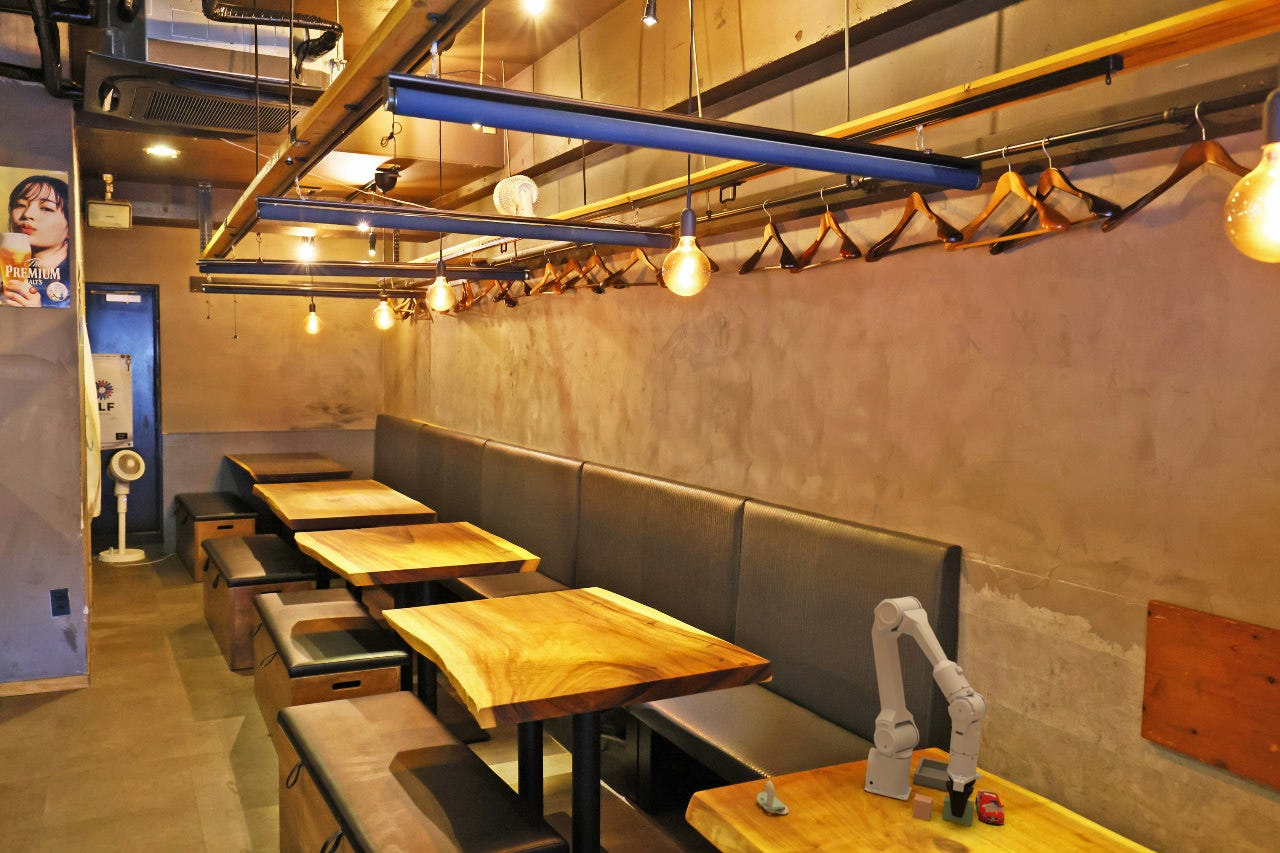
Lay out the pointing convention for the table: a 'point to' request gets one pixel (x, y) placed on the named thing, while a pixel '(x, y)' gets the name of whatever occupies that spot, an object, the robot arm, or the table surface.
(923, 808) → the terracotta square brick
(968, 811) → the green long brick
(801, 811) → the table surface
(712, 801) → the table surface
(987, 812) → the race car
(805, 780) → the table surface
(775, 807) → the pacifier
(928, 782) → the gray tray
